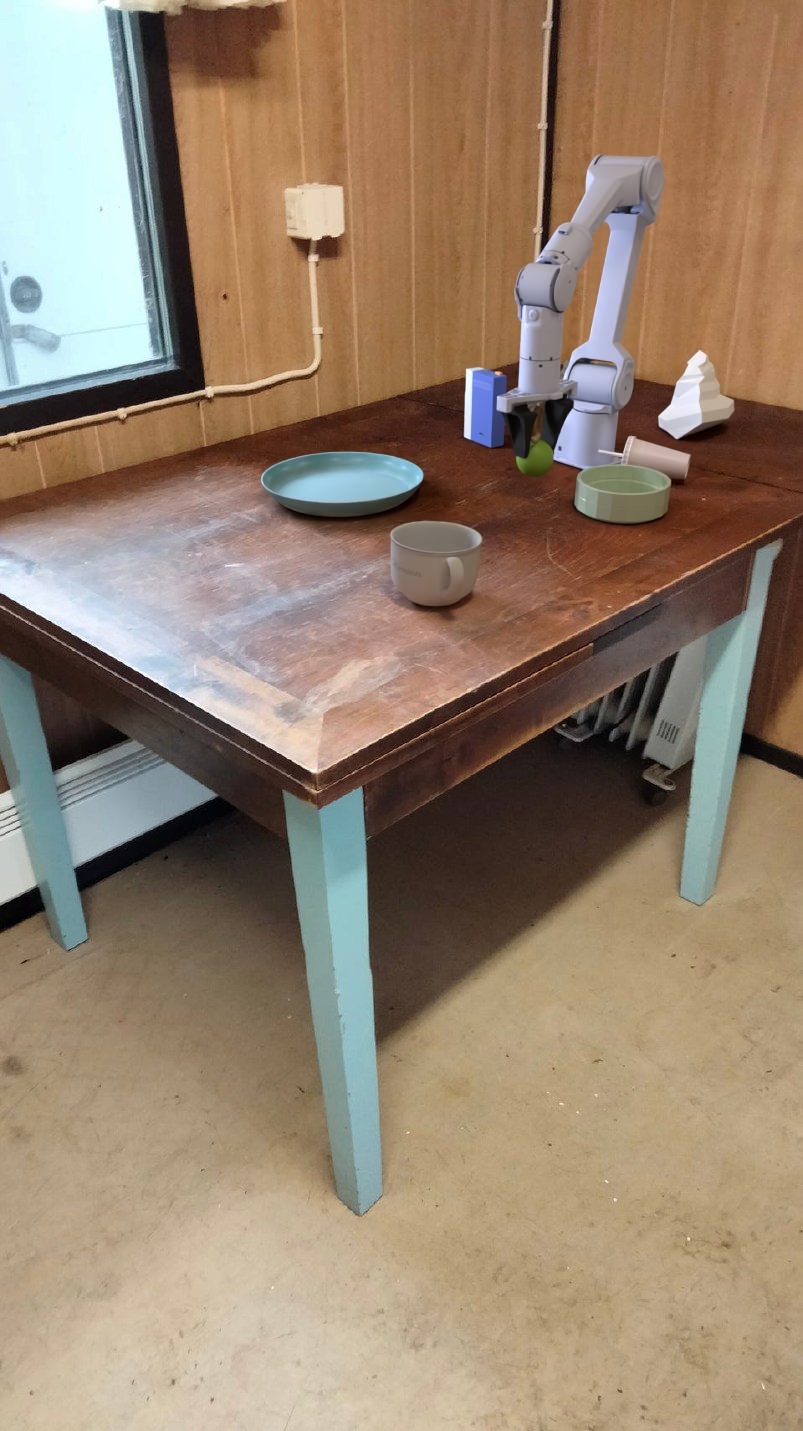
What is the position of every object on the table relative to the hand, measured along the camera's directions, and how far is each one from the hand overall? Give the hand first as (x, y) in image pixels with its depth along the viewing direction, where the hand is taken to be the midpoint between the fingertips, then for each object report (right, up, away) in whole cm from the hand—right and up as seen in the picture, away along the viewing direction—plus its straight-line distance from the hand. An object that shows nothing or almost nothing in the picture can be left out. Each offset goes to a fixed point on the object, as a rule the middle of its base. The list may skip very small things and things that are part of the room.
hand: (534, 452), depth 151 cm
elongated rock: (+13, +24, +53) cm, 60 cm away
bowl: (+12, -8, -1) cm, 15 cm away
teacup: (-15, -25, -27) cm, 40 cm away
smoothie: (+24, -1, +7) cm, 25 cm away
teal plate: (-28, -6, +5) cm, 29 cm away
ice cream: (+32, +12, +32) cm, 47 cm away
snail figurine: (0, -3, +2) cm, 4 cm away
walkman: (-5, +9, +28) cm, 29 cm away
